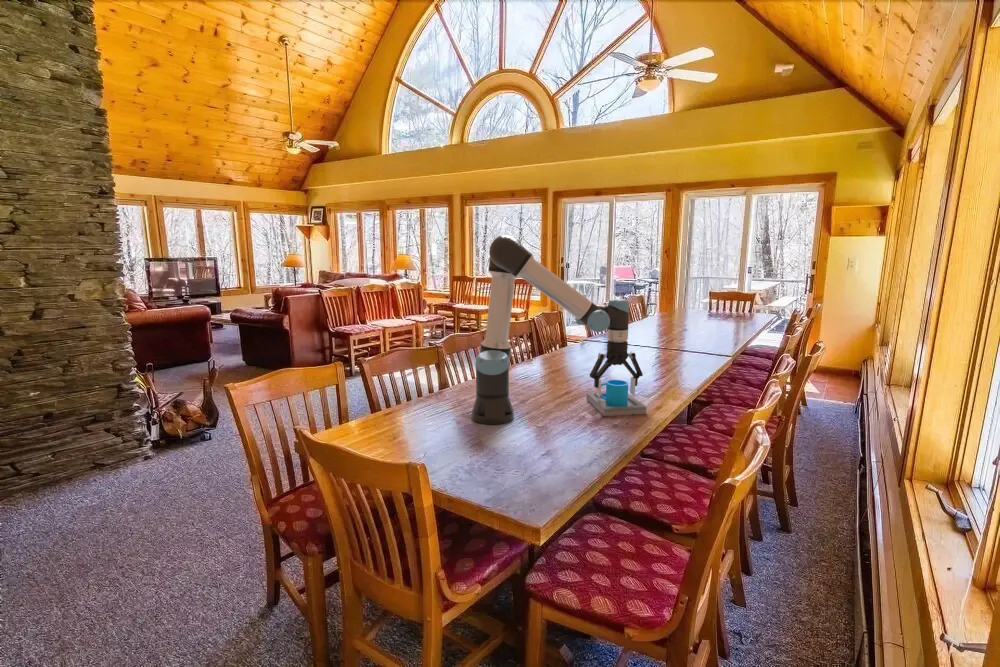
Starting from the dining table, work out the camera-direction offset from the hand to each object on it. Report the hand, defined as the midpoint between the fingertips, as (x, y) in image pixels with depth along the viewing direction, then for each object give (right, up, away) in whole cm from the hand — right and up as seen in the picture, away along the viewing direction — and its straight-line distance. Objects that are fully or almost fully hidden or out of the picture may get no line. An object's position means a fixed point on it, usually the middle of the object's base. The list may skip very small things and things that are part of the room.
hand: (615, 395), depth 189 cm
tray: (0, -4, +1) cm, 4 cm away
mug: (-1, -3, +1) cm, 3 cm away
